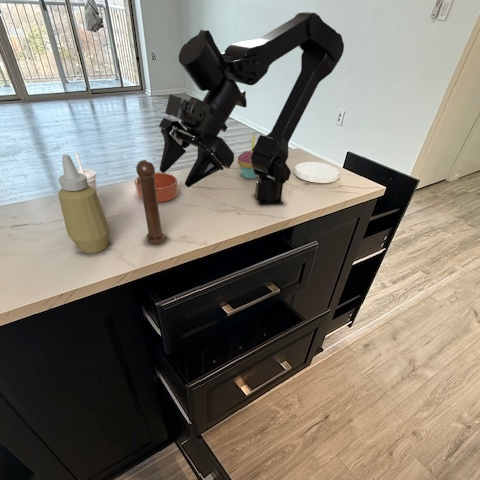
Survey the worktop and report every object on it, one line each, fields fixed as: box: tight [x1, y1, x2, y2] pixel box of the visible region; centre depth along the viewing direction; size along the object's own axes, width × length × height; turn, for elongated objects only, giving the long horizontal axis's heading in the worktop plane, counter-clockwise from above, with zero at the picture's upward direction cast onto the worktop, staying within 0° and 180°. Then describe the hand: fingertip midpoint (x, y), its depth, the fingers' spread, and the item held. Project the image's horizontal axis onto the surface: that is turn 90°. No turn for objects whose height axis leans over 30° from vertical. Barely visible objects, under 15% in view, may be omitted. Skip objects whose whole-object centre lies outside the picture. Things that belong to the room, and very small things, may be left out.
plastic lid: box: [294, 161, 340, 184], centre depth 102 cm, size 14×14×2 cm
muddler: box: [135, 159, 166, 246], centre depth 65 cm, size 4×4×17 cm
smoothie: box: [74, 152, 99, 197], centre depth 73 cm, size 6×6×14 cm
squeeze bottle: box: [57, 154, 111, 254], centre depth 61 cm, size 8×8×18 cm
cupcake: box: [237, 131, 259, 179], centre depth 97 cm, size 9×8×12 cm
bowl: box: [134, 172, 179, 204], centre depth 86 cm, size 11×11×4 cm
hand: (173, 178), depth 65 cm, fingers open, 9 cm apart
